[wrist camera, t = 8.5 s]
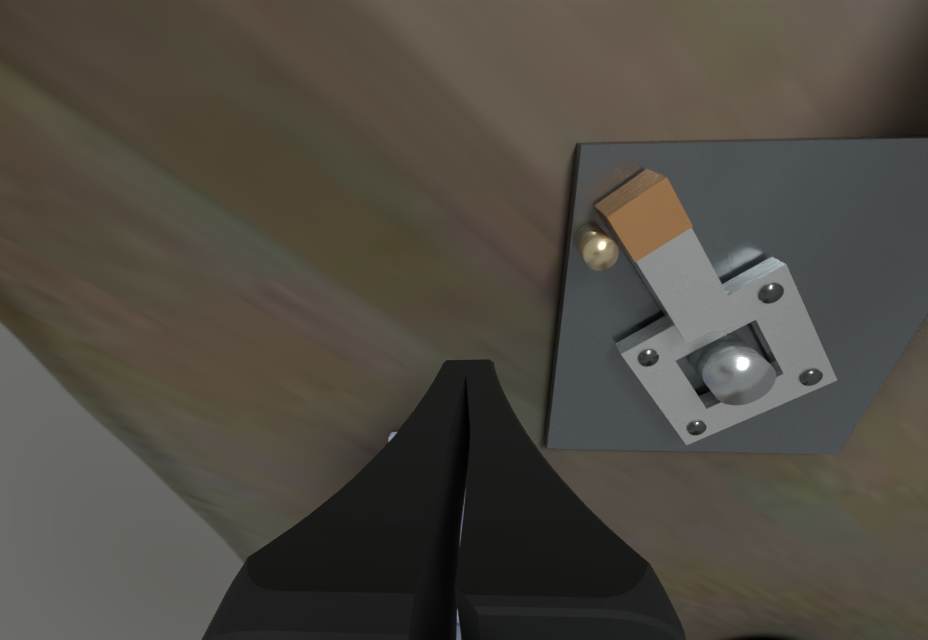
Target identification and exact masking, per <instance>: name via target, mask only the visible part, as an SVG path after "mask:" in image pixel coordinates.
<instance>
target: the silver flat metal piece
mask: <svg viewBox="0 0 928 640" xmlns="http://www.w3.org/2000/svg"><path fill="white" fill-rule="evenodd" d="M594 206H595V207H596V209H597V211H598V212H599V214H600V215H601V217H602V219H603V220H604V222H605V223H606V225H607V226H608V228H609V230H610V231H611V233H612V234H613V236H614V238H615V239H616V241H617V242H618V244H619V246H620V247H621V248H622V249H623V250H624V251H625V253H626V254H627V256H628V258H629V259H630V261H631V262H632V264H633V265H634V267H635V269H636V270H637V272H638V273H639V275H640V277H641V278H642V280H643V281H644V283H645V285H646V286H647V288H648V289H649V291H650V293H651V294H652V296H653V297H654V299H655V301H656V302H657V304H658V305H659V307H660V309H661V310H662V312H663V313H664V315H665V316H664V317H662V318H660V319H659V320H657V321H655V322H653V323H651V324H650V325H648V326H646V327H644V328H642V329H641V330H639V331H637V332H635V333H633V334H632V335H630V336H628V337H626V338H625V339H623V340H621V341H619V342H617V343H616V346H617V348H618V350H619V352H620V354H621V355H622V357H623V358H624V359H625V361H626V362H627V364H628V365H629V366H630V368H631V369H632V370H633V372H634V373H635V375H636V376H637V377H638V379H639V380H640V382H641V383H642V384H643V386H644V387H645V388H646V390H647V391H648V393H649V394H650V395H651V397H652V398H653V400H654V401H655V402H656V404H657V405H658V407H659V408H660V409H661V411H662V412H663V413H664V415H665V416H666V418H667V419H668V420H669V422H670V423H671V425H672V426H673V427H674V429H675V430H676V431H677V433H678V434H679V436H680V437H681V438H682V440H683V441H684V443H685V444H686V445H689V444H691V443H693V442H696V441H698V440H700V439H703V438H705V437H707V436H709V435H712V434H714V433H716V432H719V431H721V430H723V429H726V428H728V427H730V426H733V425H735V424H737V423H740V422H742V421H744V420H747V419H749V418H751V417H754V416H756V415H758V414H761V413H763V412H765V411H767V410H770V409H772V408H774V407H777V406H779V405H781V404H784V403H786V402H788V401H791V400H793V399H795V398H798V397H800V396H802V395H805V394H807V393H809V392H812V391H814V390H816V389H819V388H821V387H823V386H825V385H828V384H830V383H832V382H835V381H837V378H836V376H835V374H834V371H833V369H832V367H831V365H830V362H829V360H828V358H827V355H826V353H825V351H824V349H823V346H822V344H821V342H820V340H819V337H818V335H817V333H816V331H815V328H814V326H813V324H812V321H811V319H810V317H809V315H808V312H807V310H806V308H805V306H804V303H803V301H802V299H801V296H800V294H799V292H798V290H797V287H796V285H795V283H794V281H793V278H792V276H791V274H790V271H789V269H788V267H787V265H786V264H785V263H783V262H781V261H779V260H777V259H775V258H774V257H770V258H768V259H767V260H765V261H763V262H761V263H759V264H758V265H756V266H754V267H752V268H750V269H749V270H747V271H745V272H743V273H741V274H740V275H738V276H736V277H734V278H732V279H731V280H729V281H727V282H725V283H723V284H721V282H720V280H719V278H718V276H717V274H716V272H715V270H714V269H713V267H712V265H711V263H710V261H709V259H708V257H707V255H706V253H705V252H704V250H703V248H702V246H701V244H700V242H699V240H698V238H697V237H696V235H695V233H694V231H693V229H692V227H693V225H692V223H691V221H690V220H689V218H688V216H687V214H686V212H685V210H684V208H683V206H682V204H681V203H680V201H679V199H678V197H677V195H676V193H675V191H674V189H673V187H672V186H671V184H670V182H669V180H668V178H667V177H666V176H664V175H661V174H659V173H656V172H654V171H651V170H649V169H646V170H644V171H643V172H641V173H640V174H638V175H637V176H636V177H634V178H633V179H631V180H630V181H628V182H627V183H626V184H624V185H623V186H621V187H620V188H618V189H617V190H616V191H614V192H613V193H611V194H610V195H609V196H607V197H606V198H604V199H603V200H601V201H600V202H599V203H597V204H596V205H594ZM748 323H751V325H752V327H753V329H754V331H755V333H756V334H757V336H758V338H759V340H760V342H761V344H762V346H763V348H764V350H765V352H766V354H767V356H768V358H769V359H770V361H771V363H770V364H771V365H772V366H773V368H774V369H775V372H776V380H775V383H774V385H773V387H772V388H771V390H770V391H769V392H768V393H767V394H766V395H764V396H763V397H762V398H760V399H758V400H756V401H754V402H751V403H748V404H744V405H728V404H724V403H722V402H721V401H719V400H718V399H717V398H716V397H715V395H714V394H713V393H712V392H711V391H709V392H707V393H705V394H703V395H701V396H698V395H697V393H696V392H695V390H694V389H693V387H692V386H691V384H690V383H689V381H688V380H687V378H686V376H685V375H684V373H683V372H682V370H681V369H680V367H679V366H678V364H677V363H676V360H678V359H680V358H682V357H684V356H686V355H688V354H690V353H692V352H694V351H695V350H697V349H699V348H701V347H703V346H705V345H707V344H709V343H711V342H713V341H715V340H717V339H719V338H721V337H723V336H725V335H727V334H729V333H731V332H733V331H735V330H737V329H739V328H741V327H742V326H744V325H746V324H748Z"/></svg>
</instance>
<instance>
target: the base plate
mask: <svg viewBox="0 0 928 640" xmlns="http://www.w3.org/2000/svg"><path fill="white" fill-rule="evenodd" d="M646 169H649V170H651V171H654V172H656V173H659V174H661V175H664V176H666V177H667V178H668V180H669V182H670V184H671V186H672V187H673V189H674V191H675V193H676V195H677V197H678V199H679V201H680V203H681V204H682V206H683V208H684V210H685V212H686V214H687V216H688V218H689V220H690V221H691V223H692V225H693V227H692V229H693V231H694V233H695V235H696V237H697V238H698V240H699V242H700V244H701V246H702V248H703V250H704V252H705V253H706V255H707V257H708V259H709V261H710V263H711V265H712V267H713V269H714V270H715V272H716V274H717V276H718V278H719V280H720V282H721V284H723V283H725V282H727V281H729V280H731V279H732V278H734V277H736V276H738V275H740V274H741V273H743V272H745V271H747V270H749V269H750V268H752V267H754V266H756V265H758V264H759V263H761V262H763V261H765V260H767V259H768V258H770V257H774V258H775V259H777V260H779V261H781V262H783V263H785V264H786V265H787V267H788V269H789V271H790V274H791V276H792V278H793V281H794V283H795V285H796V287H797V290H798V292H799V294H800V296H801V299H802V301H803V303H804V306H805V308H806V310H807V312H808V315H809V317H810V319H811V321H812V324H813V326H814V328H815V331H816V333H817V335H818V337H819V340H820V342H821V344H822V346H823V349H824V351H825V353H826V355H827V358H828V360H829V362H830V365H831V367H832V369H833V371H834V374H835V376H836V378H837V381H835V382H832V383H830V384H828V385H825V386H823V387H821V388H819V389H816V390H814V391H812V392H809V393H807V394H805V395H802V396H800V397H798V398H795V399H793V400H791V401H788V402H786V403H784V404H781V405H779V406H777V407H774V408H772V409H770V410H767V411H765V412H763V413H761V414H758V415H756V416H754V417H751V418H749V419H747V420H744V421H742V422H740V423H737V424H735V425H733V426H730V427H728V428H726V429H723V430H721V431H719V432H716V433H714V434H712V435H709V436H707V437H705V438H703V439H700V440H698V441H696V442H693V443H691V444H689V445H686V444H685V443H684V441H683V440H682V438H681V437H680V436H679V434H678V433H677V431H676V430H675V429H674V427H673V426H672V425H671V423H670V422H669V420H668V419H667V418H666V416H665V415H664V413H663V412H662V411H661V409H660V408H659V407H658V405H657V404H656V402H655V401H654V400H653V398H652V397H651V395H650V394H649V393H648V391H647V390H646V388H645V387H644V386H643V384H642V383H641V382H640V380H639V379H638V377H637V376H636V375H635V373H634V372H633V370H632V369H631V368H630V366H629V365H628V364H627V362H626V361H625V359H624V358H623V357H622V355H621V354H620V352H619V350H618V348H617V346H616V343H617V342H619V341H621V340H623V339H625V338H626V337H628V336H630V335H632V334H633V333H635V332H637V331H639V330H641V329H642V328H644V327H646V326H648V325H650V324H651V323H653V322H655V321H657V320H659V319H660V318H662V317H664V316H665V315H664V313H663V312H662V310H661V309H660V307H659V305H658V304H657V302H656V301H655V299H654V297H653V296H652V294H651V293H650V291H649V289H648V288H647V286H646V285H645V283H644V281H643V280H642V278H641V277H640V275H639V273H638V272H637V270H636V269H635V267H634V265H633V264H632V262H631V261H630V259H629V258H628V256H627V254H626V253H625V251H624V250H623V249H622V248H621V247H620V246H619V244H618V242H617V241H616V239H615V238H614V236H613V234H612V233H611V231H610V230H609V228H608V226H607V225H606V223H605V222H604V220H603V219H602V217H601V215H600V214H599V212H598V211H597V209H596V207H595V206H594V205H596V204H597V203H599V202H600V201H601V200H603V199H604V198H606V197H607V196H609V195H610V194H611V193H613V192H614V191H616V190H617V189H618V188H620V187H621V186H623V185H624V184H626V183H627V182H628V181H630V180H631V179H633V178H634V177H636V176H637V175H638V174H640V173H641V172H643V171H644V170H646ZM927 313H928V136H895V137H845V138H795V139H745V140H696V141H646V142H596V143H577V145H576V154H575V164H574V173H573V182H572V191H571V201H570V210H569V219H568V228H567V238H566V247H565V256H564V265H563V275H562V284H561V293H560V302H559V312H558V321H557V330H556V339H555V349H554V358H553V367H552V377H551V386H550V395H549V404H548V414H547V423H546V432H545V440H546V446H547V449H592V450H642V451H692V452H742V453H792V454H839V453H840V451H841V450H842V448H843V446H844V445H845V443H846V442H847V440H848V439H849V437H850V435H851V434H852V432H853V431H854V429H855V427H856V426H857V424H858V423H859V421H860V419H861V418H862V416H863V415H864V413H865V412H866V410H867V408H868V407H869V405H870V404H871V402H872V400H873V399H874V397H875V396H876V394H877V392H878V391H879V389H880V388H881V386H882V385H883V383H884V381H885V380H886V378H887V377H888V375H889V373H890V372H891V370H892V369H893V367H894V365H895V364H896V362H897V361H898V359H899V358H900V356H901V354H902V353H903V351H904V350H905V348H906V346H907V345H908V343H909V342H910V340H911V338H912V337H913V335H914V334H915V332H916V331H917V329H918V327H919V326H920V324H921V323H922V321H923V319H924V318H925V316H926V315H927ZM676 363H677V364H678V366H679V367H680V369H681V370H682V372H683V373H684V375H685V376H686V378H687V380H688V381H689V383H690V384H691V386H692V387H693V389H694V390H695V392H696V393H697V395H698V396H701V395H703V394H705V393H707V392H709V391H711V392H712V393H713V394H714V395H715V397H716V398H717V399H718V400H719V401H721V402H722V403H724V404H728V405H744V404H748V403H751V402H754V401H756V400H758V399H760V398H762V397H763V396H764V395H766V394H767V393H768V392H769V391H770V390H771V388H772V387H773V385H774V383H775V380H776V372H775V369H774V368H773V366H772V365H771V364H770V363H771V361H770V359H769V358H768V356H767V354H766V352H765V350H764V348H763V346H762V344H761V342H760V340H759V338H758V336H757V334H756V333H755V331H754V329H753V327H752V325H751V323H748V324H746V325H744V326H742V327H741V328H739V329H737V330H735V331H733V332H731V333H729V334H727V335H725V336H723V337H721V338H719V339H717V340H715V341H713V342H711V343H709V344H707V345H705V346H703V347H701V348H699V349H697V350H695V351H694V352H692V353H690V354H688V355H686V356H684V357H682V358H680V359H678V360H676Z"/></svg>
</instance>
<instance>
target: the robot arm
mask: <svg viewBox="0 0 928 640" xmlns="http://www.w3.org/2000/svg"><path fill="white" fill-rule="evenodd" d="M202 640H686V636H685V633H684V630H683V628H682V625H681V622H680V620H679V618H678V616H677V614H676V612H675V610H674V608H673V605H672V603H671V601H670V600H669V598H668V596H667V594H666V592H665V590H664V588H663V586H662V584H661V582H660V581H659V579H658V577H657V575H656V574H655V572H654V570H653V568H652V567H651V565H650V564H649V563H648V562H647V561H646V560H645V559H644V558H642V557H641V556H640V555H639V554H638V553H637V552H635V551H634V550H633V549H632V548H631V547H630V546H628V545H627V544H626V543H625V542H624V541H623V540H622V539H621V538H620V537H618V536H617V535H616V534H615V533H614V532H613V531H612V530H611V529H610V528H608V527H607V526H606V525H605V524H604V523H603V522H602V521H601V520H600V519H599V518H598V517H597V516H596V515H595V514H594V513H593V512H592V511H591V510H590V509H589V508H588V507H587V506H586V505H585V504H584V503H583V502H582V501H581V500H580V498H579V497H578V496H577V495H576V494H575V493H574V492H573V491H572V490H571V489H570V488H569V486H568V485H567V484H566V483H565V482H564V481H563V480H562V479H561V478H560V477H559V475H558V474H557V473H556V472H555V471H554V469H553V468H552V467H551V466H550V464H549V463H548V462H547V461H546V459H545V458H544V457H543V455H542V454H541V453H540V451H539V450H538V449H537V447H536V446H535V445H534V443H533V442H532V440H531V439H530V437H529V436H528V434H527V433H526V431H525V430H524V428H523V426H522V425H521V423H520V422H519V420H518V418H517V417H516V415H515V413H514V411H513V410H512V408H511V406H510V404H509V402H508V400H507V398H506V396H505V394H504V392H503V390H502V388H501V385H500V383H499V380H498V378H497V375H496V372H495V368H494V363H493V362H492V361H491V360H447V361H446V362H444V363H443V365H442V367H441V369H440V371H439V373H438V375H437V376H436V378H435V380H434V381H433V383H432V385H431V386H430V388H429V390H428V391H427V393H426V394H425V396H424V397H423V398H422V400H421V401H420V403H419V404H418V406H417V407H416V409H415V410H414V411H413V413H412V414H411V415H410V417H409V418H408V419H407V420H406V422H405V423H404V424H403V426H402V427H401V428H400V429H399V431H398V432H392V433H390V435H389V438H388V444H387V445H386V446H385V447H384V448H383V449H382V450H381V451H380V452H379V453H378V454H377V455H376V456H375V458H374V459H373V460H372V461H371V462H370V463H368V464H367V465H366V466H365V467H364V468H363V469H362V470H361V471H360V472H359V473H358V474H357V475H356V476H355V477H354V478H353V479H352V480H351V481H350V482H348V483H347V484H346V485H345V486H344V487H343V488H342V489H341V490H339V491H338V492H337V493H336V494H334V495H333V496H332V497H331V498H330V499H328V500H327V501H326V502H325V503H323V504H322V505H321V506H320V507H318V508H317V509H316V510H315V511H314V512H312V513H311V514H310V515H308V516H307V517H306V518H304V519H303V520H302V521H300V522H299V523H298V524H296V525H295V526H293V527H292V528H291V529H289V530H288V531H286V532H285V533H283V534H282V535H280V536H279V537H277V538H276V539H274V540H273V541H272V542H270V543H269V544H267V545H266V546H264V547H263V548H261V549H260V550H258V551H257V552H255V553H254V554H252V555H251V556H249V557H248V558H247V560H246V561H245V563H244V565H243V566H242V568H241V570H240V571H239V573H238V574H237V576H236V577H235V579H234V580H233V582H232V584H231V585H230V587H229V589H228V591H227V592H226V594H225V596H224V598H223V600H222V602H221V604H220V605H219V608H218V609H217V611H216V613H215V615H214V617H213V619H212V621H211V623H210V625H209V627H208V628H207V630H206V632H205V634H204V636H203V638H202Z"/></svg>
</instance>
